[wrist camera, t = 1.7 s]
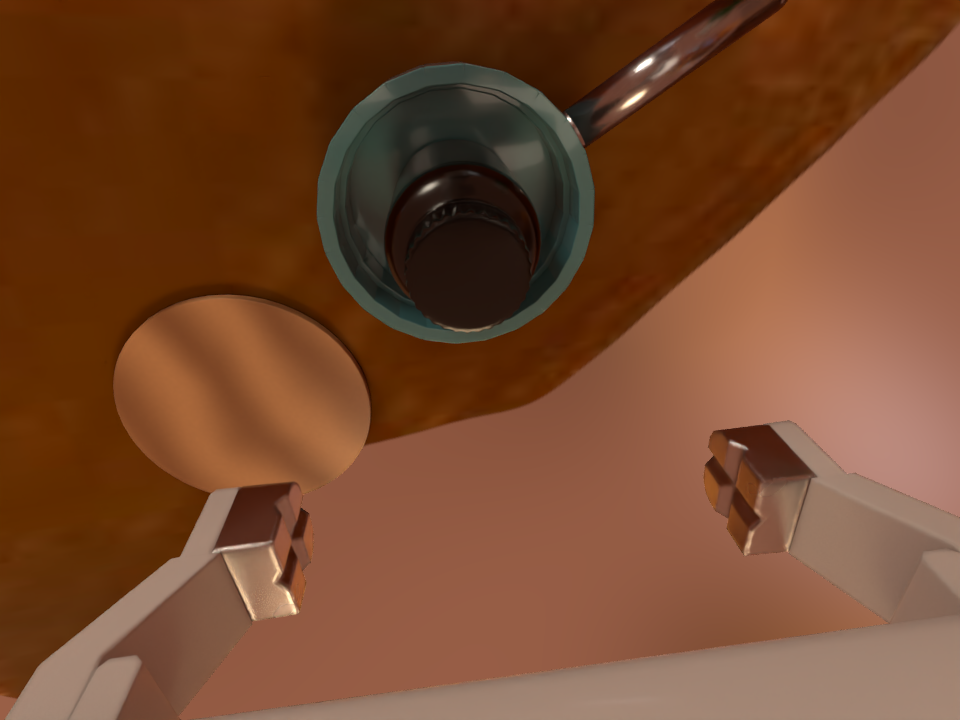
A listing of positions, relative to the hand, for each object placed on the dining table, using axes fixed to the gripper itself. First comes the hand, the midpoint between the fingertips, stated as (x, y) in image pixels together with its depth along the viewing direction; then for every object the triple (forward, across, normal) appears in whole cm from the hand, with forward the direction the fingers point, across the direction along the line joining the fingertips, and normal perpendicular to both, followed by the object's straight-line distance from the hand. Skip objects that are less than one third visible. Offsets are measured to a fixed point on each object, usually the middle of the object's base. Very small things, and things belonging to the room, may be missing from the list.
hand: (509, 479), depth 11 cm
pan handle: (+21, -10, -6) cm, 24 cm away
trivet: (+23, +15, +12) cm, 30 cm away
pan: (+23, 0, 0) cm, 23 cm away
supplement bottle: (+23, 0, 0) cm, 23 cm away
